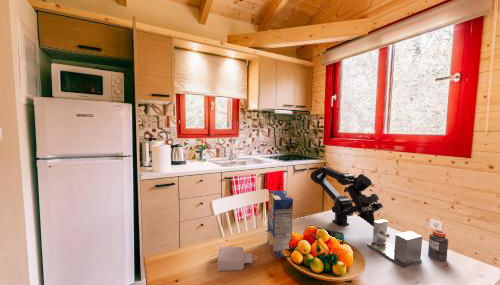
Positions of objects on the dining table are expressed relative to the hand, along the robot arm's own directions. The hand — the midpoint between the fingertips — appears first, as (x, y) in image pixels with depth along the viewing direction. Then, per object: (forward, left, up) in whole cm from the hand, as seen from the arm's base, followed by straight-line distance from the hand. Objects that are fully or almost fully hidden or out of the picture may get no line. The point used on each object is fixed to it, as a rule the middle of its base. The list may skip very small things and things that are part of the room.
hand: (374, 226), depth 101 cm
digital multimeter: (-9, -19, -8) cm, 22 cm away
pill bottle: (+15, +17, -8) cm, 24 cm away
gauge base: (+9, +1, -8) cm, 12 cm away
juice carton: (-4, -46, -8) cm, 47 cm away
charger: (+3, -65, -8) cm, 66 cm away
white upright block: (+5, -1, -6) cm, 8 cm away
